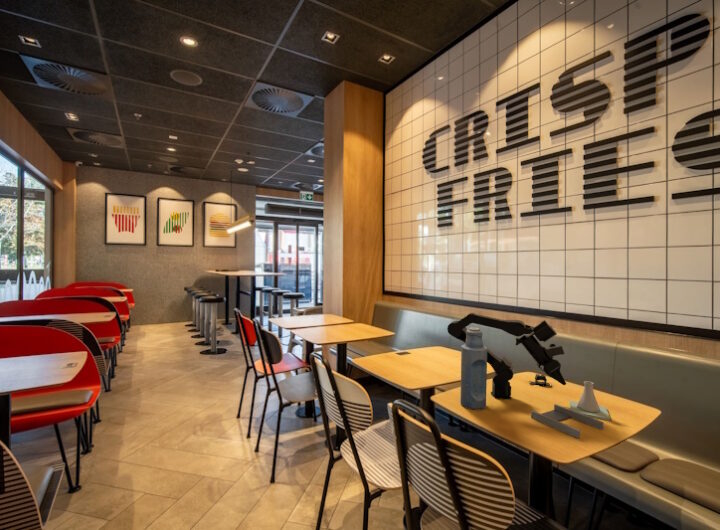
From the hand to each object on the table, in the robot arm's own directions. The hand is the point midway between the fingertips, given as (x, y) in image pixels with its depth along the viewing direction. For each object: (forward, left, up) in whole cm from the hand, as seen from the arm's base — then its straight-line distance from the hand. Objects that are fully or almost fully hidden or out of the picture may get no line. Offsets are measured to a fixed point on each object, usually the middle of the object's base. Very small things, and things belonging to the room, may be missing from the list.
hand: (562, 382), depth 142 cm
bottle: (-34, -1, -10) cm, 35 cm away
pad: (+8, -4, -9) cm, 13 cm away
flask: (+8, -4, -9) cm, 12 cm away
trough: (-6, -15, -9) cm, 19 cm away
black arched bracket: (+3, +26, -10) cm, 28 cm away
